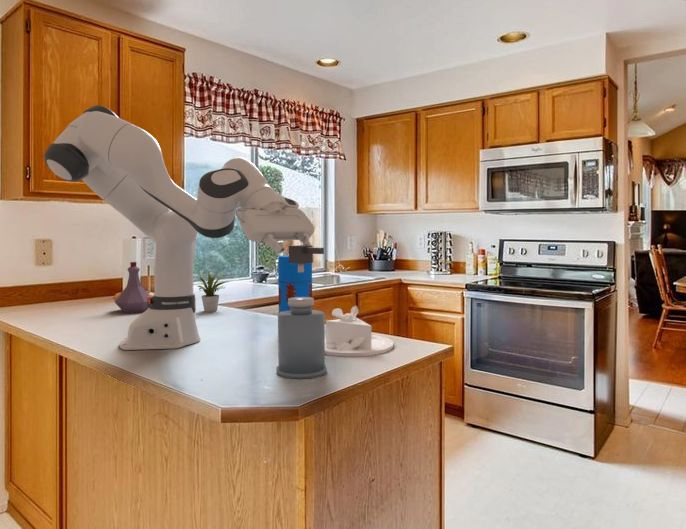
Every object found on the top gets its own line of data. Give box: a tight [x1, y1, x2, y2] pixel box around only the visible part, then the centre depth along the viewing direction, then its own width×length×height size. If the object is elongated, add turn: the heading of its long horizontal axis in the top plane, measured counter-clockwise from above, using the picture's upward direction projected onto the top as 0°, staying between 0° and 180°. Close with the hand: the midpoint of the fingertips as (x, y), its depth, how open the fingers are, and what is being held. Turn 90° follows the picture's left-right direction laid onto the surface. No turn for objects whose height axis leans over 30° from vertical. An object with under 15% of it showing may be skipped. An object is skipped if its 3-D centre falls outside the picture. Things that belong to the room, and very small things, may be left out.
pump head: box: [288, 244, 325, 272], centre depth 118 cm, size 8×4×6 cm, turn 52°
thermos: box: [277, 254, 313, 313], centre depth 164 cm, size 11×11×25 cm
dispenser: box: [275, 297, 328, 380], centre depth 120 cm, size 12×12×18 cm
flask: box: [114, 261, 152, 314], centre depth 208 cm, size 16×16×20 cm
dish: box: [325, 305, 395, 357], centre depth 147 cm, size 25×25×11 cm
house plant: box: [196, 271, 230, 313], centre depth 206 cm, size 14×14×16 cm
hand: (295, 250), depth 119 cm, fingers open, 8 cm apart
